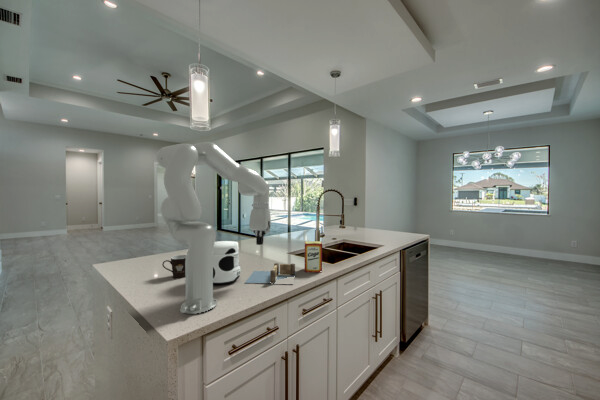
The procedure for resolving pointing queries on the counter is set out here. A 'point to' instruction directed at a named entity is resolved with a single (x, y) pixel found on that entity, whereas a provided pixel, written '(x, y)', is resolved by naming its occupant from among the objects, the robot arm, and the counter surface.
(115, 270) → the counter surface
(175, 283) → the counter surface
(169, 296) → the counter surface
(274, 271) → the fence panel
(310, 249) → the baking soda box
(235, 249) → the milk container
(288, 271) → the fence fixed
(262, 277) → the card
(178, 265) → the coffee mug
